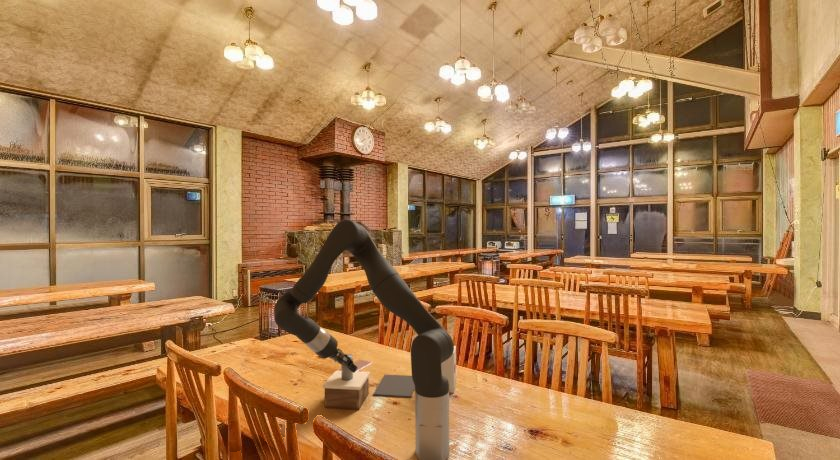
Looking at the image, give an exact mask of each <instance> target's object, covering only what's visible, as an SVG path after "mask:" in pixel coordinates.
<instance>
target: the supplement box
mask: <svg viewBox="0 0 840 460" xmlns="http://www.w3.org/2000/svg"><path fill="white" fill-rule="evenodd" d="M441 370H442V376H444V377H446V378H447V379H448V381H449V394H454V393H455V391H456V390H455V389H456V386H457V346H456V345H454V351H453V354H452V356H451V357H450V358H449V359H447V360H446V361H444V362H443V363H441Z"/></svg>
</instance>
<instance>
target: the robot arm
mask: <svg viewBox="0 0 840 460" xmlns="http://www.w3.org/2000/svg"><path fill="white" fill-rule="evenodd" d="M344 252H348V253H350V254H351V255H352V256H353V257H354V258H355V260H356V261H357V262H358V263H359V264H360V265H361V267H362V269H363V271H364V273H365V276H366V279H367V282H368V285H369V287H370V289H371V291H372V292H373V294H374V295H375V296H376V298H377V300H378V301H379V302H380V304H381V305H382V306H383V307H384V308H385V309H387V310H388V311H389V312H390V313H392V314H393V315H394V316H397V317H398V318H400V319H402V321H404V322H406V323H407V324H408V325H409V326H410V327H411V328H412V329H413V330H414V331H415V333H416V335H417V336H415V337H414V339H412V343H411V347H410V364H411V365H410V366H411V367H410V368H411V376H412V379H413V382H414V385H415V388H414V414H415V415H414V417H415V418H414V419H415V420H414V421H415V423H414V425H415V426H414V428H415V431H414V435H415V437H414V438H415V439H414V440H415V457H416V458H417V457H418V458H419V459H418V458H417V459H418V460H447V459H448V458H449V456H450V393H449V381H448V379H447V378H446V377H444V376H442V370H441V363H443V362H444V361H446V360H447V359H449V358H450V357H451V356H452V354H453V351H454V346H455V345H454V340H453V339H452V337H451V335H450V333H449V332H448V331H447V330H446V329H445V327H443V325H442V324H441V323H440V322H439V321H438V320H437V319H436V318H435V317H434V316H433V315H432V314H431V312H429V311H428V310H427V308H426V306H424V304H423V303H422V302H421V301H420V299H419V298H418V297H417V296H416V294H415V293H414V292H413V290H412V289H411V287H409V285H408V284H407V282H406V281H405V280H404V278H403V277H402V276H401V275H400V273H399V272H398V271H397V270H396V268H395V267H394V266H393V265H392V264H391V263H390V261H389V260H388V259H387V258H386V257H385V256H384V255H383V254H382V252H381V251H380V249H379V248H378V246H377V245H376V243H375V242H374V240H373V238H372V236H371V234H370V233H369V232H368V230H367V229H366V228H365V226H363V225H362V224H360V223H358V222H356V221H354V220H352V219H343V220H340V221H338V222H337V223H336V224H335V226H333V228H332V230H331V231H330V233H329V235H328V236H327V237H326V240H325V241H324V243H323V244H322V246H321V248H320V249H319V251H318V253H317V254H316V256H315V258H314V259H313V261H312V262H311V264H310V265H309V266H308V268H307V269H306V270H305V272H304V273H303V274H302V276H301V277H300V278H299V279H298V280H297V282H296V283H295V284H294V285H293V286H292V287H291V288H290V289H288V290H287V291H286V292H285V293H283V294H282V296H280V297H279V298H278V300H277V301H276V302H275V305H274V306H273V312H274V313H273V314H274V315H273V317H274V322H275V324H276V326H277V327H278V328H279V329H281V330H283V331H284V332H286V333H288V334H289V335H292V336H296V338H297V339H298V340H300V341H301V342H302V343H304V345H306V347H307V348H309V350H311V351H312V352H313V353H314V354H316V355H317V356H318V357H319V358H321V359H324V360H325V359H328V358H329V359H330V360H332V361H333V362H335V363H337V364H339V365H344V366H345V367H346V368H348V369H349V370H351V371H352V372H353V373H354V372H355V371H356V370H357V366H356V365H354V364H353V363H354V360H353V361H352V360H351V359H350V358H349V357H348V356H347V355H346V354H347V353H344V352H343V350H341V349H340V348H338V345H339V344H338V340H337V339H336V338H335V337H334V336H333V335H331V333H330V332H329V331H327V330H326V329H325V328H324V327H322V326H320V325H319V324H318V323H316V321H314V320H313V319H312V318H310V317H309V316H302V315H301V314H300V313H299V307H301V305H303V304H308V303H309V302H311V301H312V300H314V297H315V296H316V295H317V293H319V291H320V290H321V289H322V288H323V286H324V285H325V283H326V281H327V279H328V276H329V274H330V271H331V269H332V266H333V265H334V263H335V262H336V260H337V259H338V257H340V256H341V254H344Z"/></svg>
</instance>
